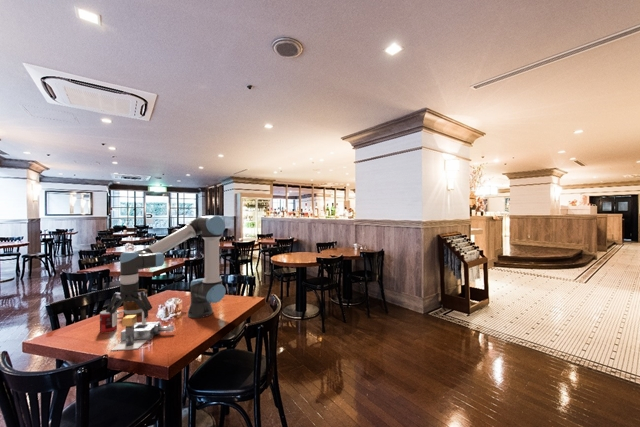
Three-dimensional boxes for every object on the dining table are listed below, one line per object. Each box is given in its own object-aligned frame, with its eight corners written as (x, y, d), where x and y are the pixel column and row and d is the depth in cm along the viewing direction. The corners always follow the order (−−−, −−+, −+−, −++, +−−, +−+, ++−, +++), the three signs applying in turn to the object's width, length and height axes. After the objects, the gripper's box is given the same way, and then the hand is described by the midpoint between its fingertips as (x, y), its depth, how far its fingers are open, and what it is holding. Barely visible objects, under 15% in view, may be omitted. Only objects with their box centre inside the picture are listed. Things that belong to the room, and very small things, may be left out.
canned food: (105, 328, 160) (105, 309, 160) (120, 327, 160) (120, 308, 161) (96, 333, 152) (96, 313, 152) (111, 333, 153) (111, 313, 153)
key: (132, 346, 136) (132, 317, 136) (122, 346, 136) (122, 318, 136) (136, 342, 140) (136, 314, 141) (127, 342, 140) (127, 315, 140)
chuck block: (176, 329, 157) (176, 319, 157) (168, 338, 145) (168, 328, 145) (133, 331, 154) (133, 322, 154) (120, 341, 142) (120, 330, 142)
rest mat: (146, 340, 143) (146, 339, 143) (137, 349, 134) (137, 348, 134) (121, 342, 142) (121, 341, 142) (110, 350, 133) (110, 349, 133)
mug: (147, 309, 191) (147, 287, 191) (148, 315, 180) (148, 292, 180) (112, 315, 180) (112, 292, 180) (110, 322, 169) (110, 297, 169)
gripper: (159, 280, 143) (159, 320, 143) (107, 281, 140) (107, 323, 140) (152, 283, 136) (152, 326, 136) (97, 285, 133) (97, 329, 133)
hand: (129, 325), depth 138 cm, fingers open, 13 cm apart
